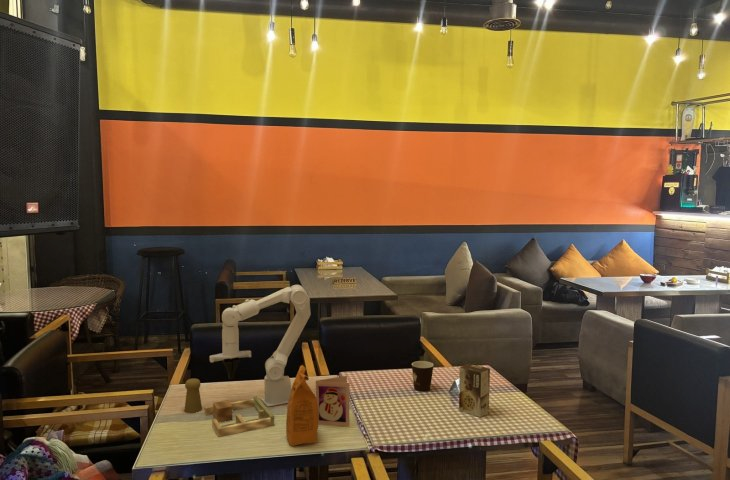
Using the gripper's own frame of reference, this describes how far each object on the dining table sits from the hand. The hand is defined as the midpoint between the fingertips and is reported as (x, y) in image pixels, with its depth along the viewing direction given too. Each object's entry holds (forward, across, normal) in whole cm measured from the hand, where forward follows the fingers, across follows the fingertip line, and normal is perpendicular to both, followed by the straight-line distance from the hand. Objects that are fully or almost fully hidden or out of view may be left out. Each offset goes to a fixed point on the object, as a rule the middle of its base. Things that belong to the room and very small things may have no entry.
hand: (230, 378), depth 193 cm
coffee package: (+10, -13, +36) cm, 40 cm away
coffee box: (+10, -75, +45) cm, 88 cm away
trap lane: (+10, +1, +14) cm, 17 cm away
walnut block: (+10, +6, +10) cm, 15 cm away
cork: (+10, +13, -2) cm, 17 cm away
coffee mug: (+10, -72, +17) cm, 75 cm away
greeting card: (+10, -27, +30) cm, 42 cm away
